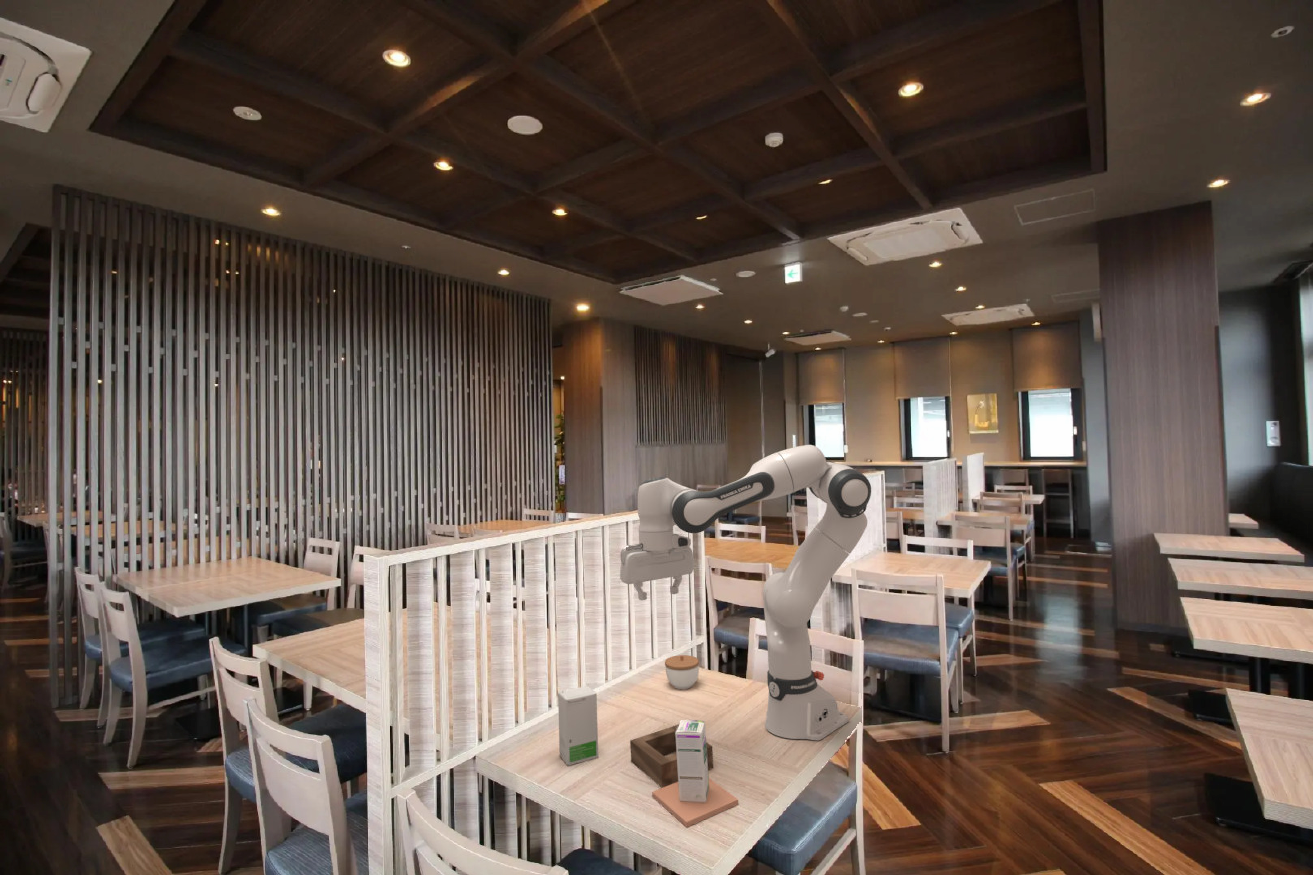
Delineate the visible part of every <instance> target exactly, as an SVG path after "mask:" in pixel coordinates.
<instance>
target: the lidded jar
mask: <svg viewBox="0 0 1313 875" xmlns="http://www.w3.org/2000/svg"><path fill="white" fill-rule="evenodd" d="M664 666H665V667H664V668H665V674H666V678H667V681H668V682H669V683H670V685H672V686H674V687H673V688H674V689H677V690H689V689H690V688H692V687H693V685H694V684H695V683H696V682H697V680H698V678H699V673H700V672H699V670H700V668H699V667H700V661H699V659H698V658H697V657H695V656H692V655H688V654H687V655H686V654H685V655H684V654H679V655H673V656H670V657H668V658H666V659H665V661H664Z"/></svg>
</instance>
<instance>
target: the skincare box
mask: <svg viewBox="0 0 1313 875" xmlns="http://www.w3.org/2000/svg"><path fill="white" fill-rule="evenodd" d="M557 699H558V700H557V701H558V702H557V703H558V707H557V708H558V740H559V741H558V742H559V744H558V746H559V756H560V757H561V758H562V760H563V762H564V763H565V764H566V765H567V766H571V765H572V766H573V765H575V764H579V763H582V762H586V761H590V760H594V759H598V758H599V732H598V731H599V730H598V704H597V703H598V701H597V692H595V691H594V689H592V688H591V687H590V686H588V685H586V686H581V687H573V688H570V689H564V690H560V691H558V692H557Z"/></svg>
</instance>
